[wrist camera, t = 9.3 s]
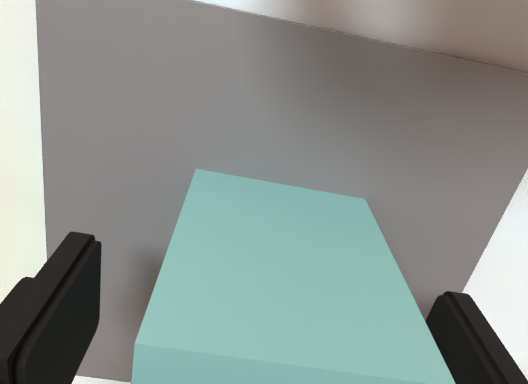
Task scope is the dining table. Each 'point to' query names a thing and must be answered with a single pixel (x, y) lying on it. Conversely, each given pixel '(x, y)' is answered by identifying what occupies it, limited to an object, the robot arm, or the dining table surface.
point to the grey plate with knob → (262, 139)
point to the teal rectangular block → (281, 294)
